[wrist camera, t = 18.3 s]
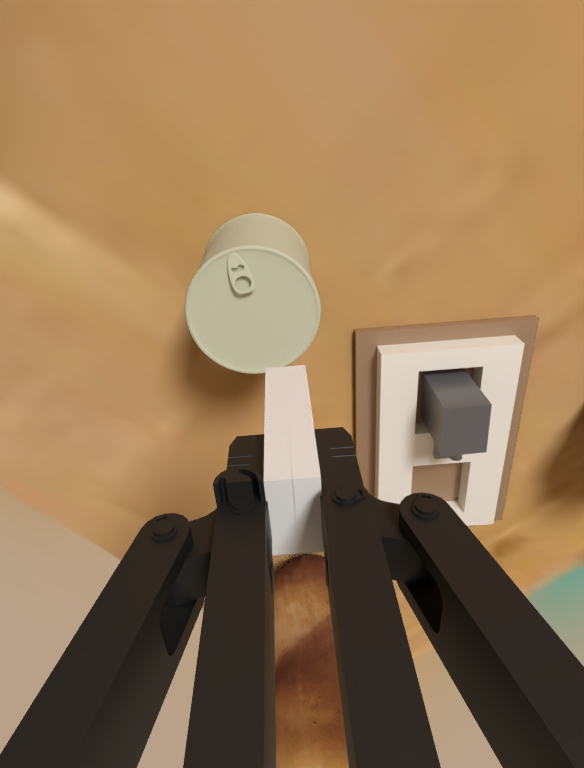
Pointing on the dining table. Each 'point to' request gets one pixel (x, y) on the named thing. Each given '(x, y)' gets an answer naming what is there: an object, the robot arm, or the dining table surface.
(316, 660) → the butternut squash
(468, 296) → the dining table surface
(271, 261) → the can
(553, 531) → the dining table surface
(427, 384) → the plug
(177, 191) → the dining table surface
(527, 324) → the socket board
